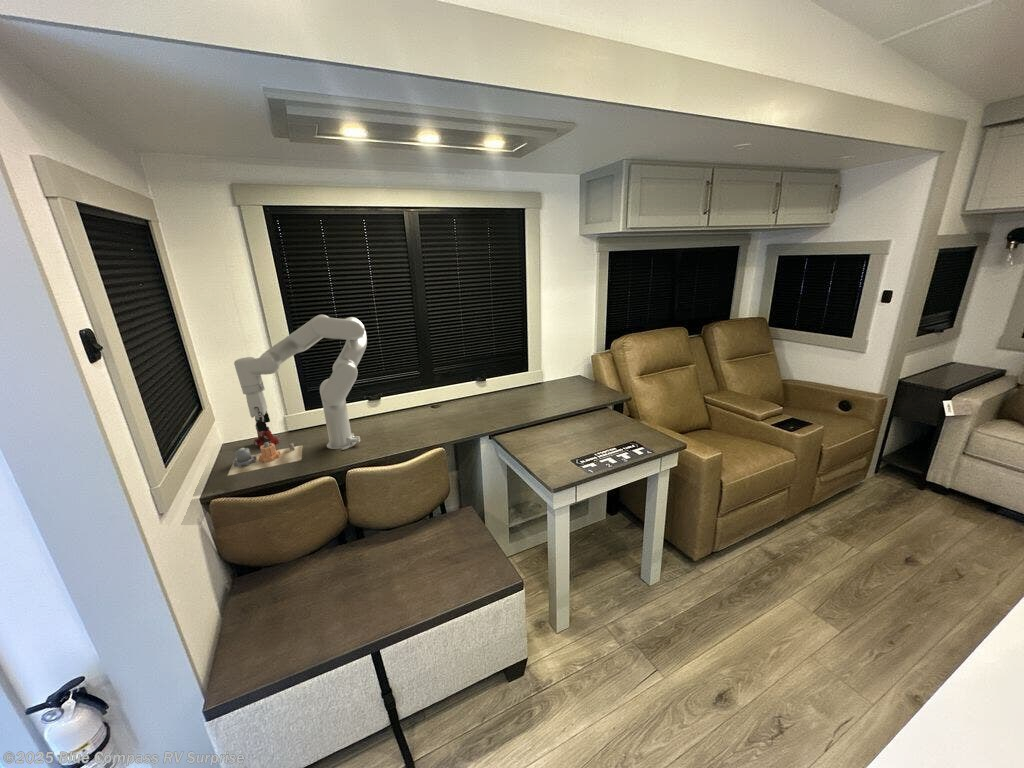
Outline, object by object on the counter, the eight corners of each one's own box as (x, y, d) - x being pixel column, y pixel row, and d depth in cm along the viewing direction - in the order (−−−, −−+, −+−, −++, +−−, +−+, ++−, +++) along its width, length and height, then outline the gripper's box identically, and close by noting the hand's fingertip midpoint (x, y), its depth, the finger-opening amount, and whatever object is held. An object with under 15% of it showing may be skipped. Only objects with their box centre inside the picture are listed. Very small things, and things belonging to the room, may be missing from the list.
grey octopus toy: (257, 456, 166) (253, 442, 164) (254, 464, 159) (251, 450, 157) (236, 461, 163) (232, 447, 161) (232, 469, 156) (228, 454, 154)
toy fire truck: (266, 452, 172) (261, 431, 169) (253, 446, 179) (247, 425, 176) (282, 446, 178) (277, 425, 175) (268, 440, 184) (264, 420, 181)
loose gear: (260, 456, 166) (257, 444, 165) (281, 452, 169) (278, 440, 168) (258, 463, 160) (255, 451, 158) (279, 459, 163) (276, 447, 161)
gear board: (303, 447, 176) (299, 431, 173) (301, 462, 162) (298, 445, 160) (235, 461, 165) (230, 443, 163) (228, 478, 151) (222, 459, 149)
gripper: (245, 384, 161) (257, 421, 166) (238, 395, 146) (250, 436, 152) (266, 380, 164) (276, 417, 169) (261, 391, 149) (272, 431, 155)
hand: (264, 426), depth 160 cm, fingers open, 9 cm apart
